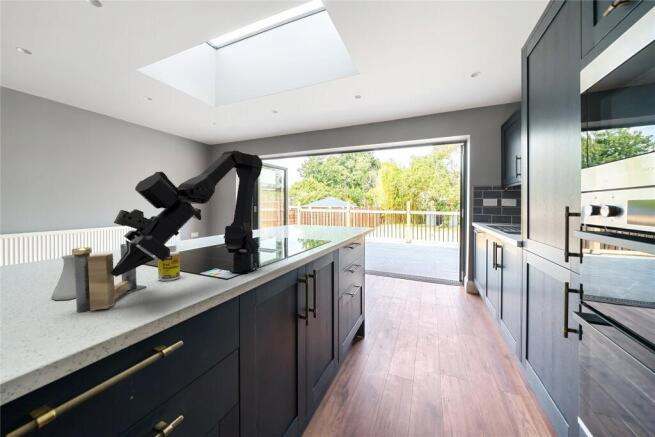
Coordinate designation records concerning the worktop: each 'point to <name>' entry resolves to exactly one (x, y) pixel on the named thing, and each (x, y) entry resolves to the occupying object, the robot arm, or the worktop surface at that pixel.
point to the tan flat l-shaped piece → (103, 282)
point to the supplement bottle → (169, 265)
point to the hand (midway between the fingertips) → (113, 275)
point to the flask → (66, 281)
